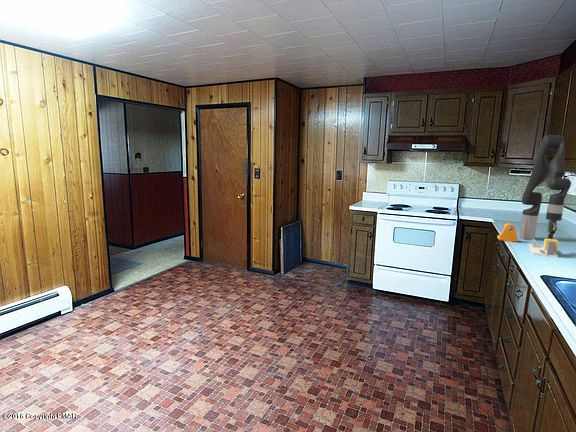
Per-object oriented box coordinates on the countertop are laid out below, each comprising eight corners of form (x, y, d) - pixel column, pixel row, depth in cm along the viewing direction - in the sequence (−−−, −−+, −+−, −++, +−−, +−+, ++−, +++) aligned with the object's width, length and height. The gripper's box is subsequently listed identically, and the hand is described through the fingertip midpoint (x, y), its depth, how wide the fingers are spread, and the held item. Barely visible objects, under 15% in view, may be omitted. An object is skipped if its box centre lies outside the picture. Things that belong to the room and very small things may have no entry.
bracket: (514, 240, 240) (516, 223, 238) (517, 242, 234) (520, 225, 231) (496, 238, 244) (498, 221, 241) (499, 241, 237) (501, 223, 235)
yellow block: (543, 248, 209) (544, 238, 208) (555, 249, 206) (557, 239, 205) (544, 250, 204) (546, 240, 203) (557, 251, 202) (558, 241, 201)
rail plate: (527, 245, 227) (529, 232, 225) (549, 247, 222) (551, 235, 220) (532, 254, 206) (534, 240, 205) (557, 257, 201) (560, 243, 199)
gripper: (565, 214, 197) (559, 243, 200) (560, 211, 209) (555, 238, 212) (548, 212, 201) (544, 241, 204) (544, 209, 212) (540, 237, 215)
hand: (549, 240), depth 208 cm, fingers closed
